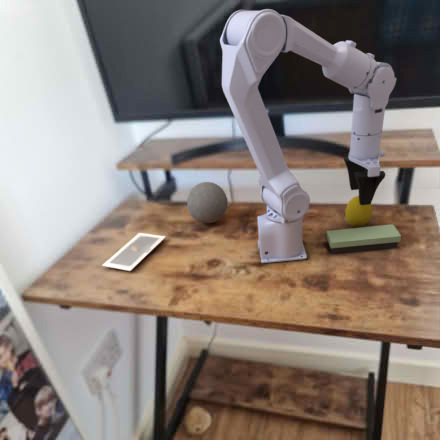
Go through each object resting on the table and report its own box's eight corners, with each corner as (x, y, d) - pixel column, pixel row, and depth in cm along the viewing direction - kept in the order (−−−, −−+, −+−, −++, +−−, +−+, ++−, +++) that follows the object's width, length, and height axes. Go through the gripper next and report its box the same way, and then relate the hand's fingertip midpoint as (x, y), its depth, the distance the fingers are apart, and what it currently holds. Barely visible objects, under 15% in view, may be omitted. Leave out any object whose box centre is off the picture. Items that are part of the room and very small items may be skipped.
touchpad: (103, 269, 90) (100, 261, 89) (140, 236, 101) (138, 228, 99) (131, 274, 87) (128, 266, 86) (166, 240, 97) (165, 232, 96)
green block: (330, 255, 84) (331, 242, 82) (325, 242, 88) (326, 230, 86) (399, 248, 83) (401, 235, 81) (391, 236, 87) (393, 224, 85)
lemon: (370, 234, 89) (375, 200, 84) (344, 234, 90) (347, 201, 85) (368, 222, 93) (372, 189, 88) (343, 222, 94) (346, 190, 89)
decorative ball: (182, 226, 102) (175, 188, 96) (205, 209, 108) (200, 173, 102) (214, 233, 97) (209, 195, 91) (236, 215, 103) (233, 178, 97)
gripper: (400, 140, 73) (390, 209, 81) (376, 118, 84) (369, 181, 92) (360, 145, 73) (354, 213, 81) (342, 123, 85) (338, 184, 93)
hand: (360, 196), depth 87 cm, fingers open, 7 cm apart
